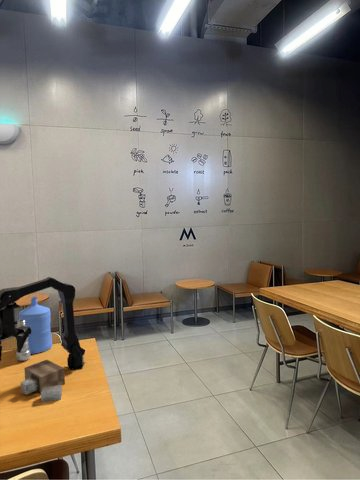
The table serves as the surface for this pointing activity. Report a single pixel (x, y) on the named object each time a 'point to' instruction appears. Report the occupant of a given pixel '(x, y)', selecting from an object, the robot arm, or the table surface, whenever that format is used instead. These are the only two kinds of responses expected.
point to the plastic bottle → (25, 349)
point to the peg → (29, 385)
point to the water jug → (37, 326)
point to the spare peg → (51, 393)
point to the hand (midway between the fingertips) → (9, 356)
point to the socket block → (46, 374)
